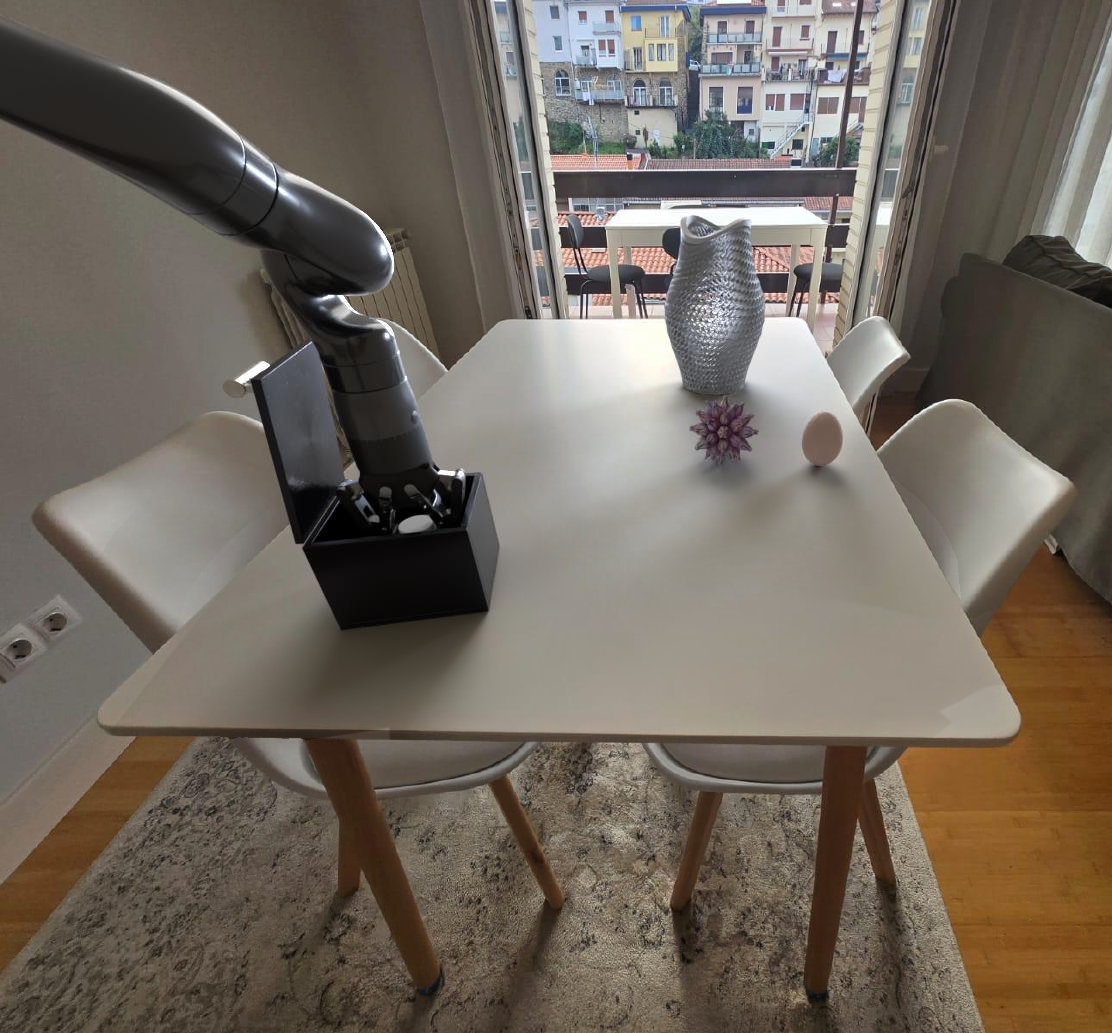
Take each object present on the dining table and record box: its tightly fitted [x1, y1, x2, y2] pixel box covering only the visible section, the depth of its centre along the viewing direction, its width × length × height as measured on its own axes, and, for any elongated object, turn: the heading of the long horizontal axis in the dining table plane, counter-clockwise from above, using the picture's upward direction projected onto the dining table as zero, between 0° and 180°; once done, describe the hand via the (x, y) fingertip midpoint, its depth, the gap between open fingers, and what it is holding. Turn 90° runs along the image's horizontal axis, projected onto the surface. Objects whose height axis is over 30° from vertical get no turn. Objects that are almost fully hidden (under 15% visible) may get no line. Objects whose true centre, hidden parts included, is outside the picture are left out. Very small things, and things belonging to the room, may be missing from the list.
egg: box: [801, 410, 844, 467], centre depth 96 cm, size 7×7×10 cm
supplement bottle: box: [398, 515, 436, 534], centre depth 69 cm, size 5×5×8 cm
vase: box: [663, 214, 766, 395], centre depth 124 cm, size 22×22×35 cm
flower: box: [688, 395, 760, 466], centre depth 97 cm, size 12×12×12 cm
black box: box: [301, 471, 501, 631], centre depth 69 cm, size 17×14×12 cm
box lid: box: [222, 337, 346, 545], centre depth 59 cm, size 18×14×5 cm
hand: (424, 551), depth 69 cm, fingers closed on supplement bottle, 4 cm apart
